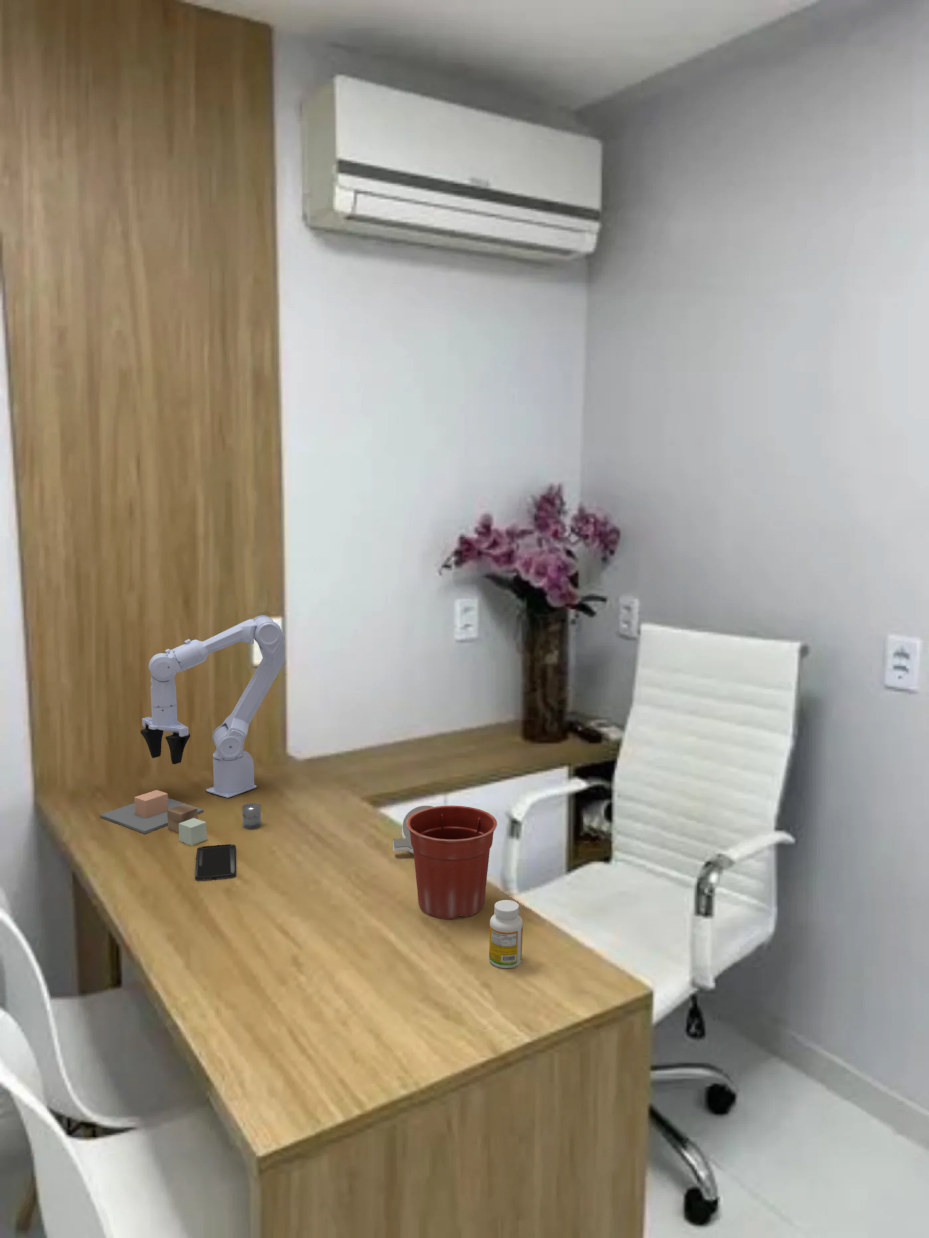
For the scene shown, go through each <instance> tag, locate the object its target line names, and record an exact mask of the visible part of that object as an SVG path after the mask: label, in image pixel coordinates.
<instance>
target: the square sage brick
mask: <svg viewBox="0 0 929 1238" xmlns="http://www.w3.org/2000/svg"><path fill="white" fill-rule="evenodd" d="M178 838H179V839H178V841H179V842H180V843H183V842H184V844H186V845H188V846H194V845H197V844H199V843H202V842H204V841H207V840H208V839H207V838H208V836H207V821H204V820H202V819H196V818H192V819H190V820H187V821H184V822H182V823H179V833H178Z"/></svg>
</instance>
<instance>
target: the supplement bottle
mask: <svg viewBox="0 0 929 1238" xmlns="http://www.w3.org/2000/svg"><path fill="white" fill-rule="evenodd" d="M493 913H494V914H493V915H492V916H491V918H490V920H489V935H488V936H489V937H488V938H489V940H488V941H489V942H488V943H489V945H488V948H489V949H488V953H489V954H488V957H489V958H488V960H489V962H490V964H491V965H493V966H494V967H498V968H500V969H512V968H516V967H517V966H519V965H520V964H521V963H522V960H523V933H524V932H523V930H524V929H523V928H524V924H523V923H524V922H523V919H522V917H521V916H520V915H519V914H520V905H519V903H517V902H516V901H514V900H510V899H502V900H499V901H497V902H495V903H494V912H493Z"/></svg>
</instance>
